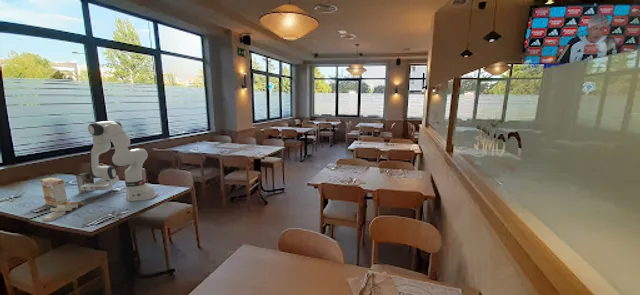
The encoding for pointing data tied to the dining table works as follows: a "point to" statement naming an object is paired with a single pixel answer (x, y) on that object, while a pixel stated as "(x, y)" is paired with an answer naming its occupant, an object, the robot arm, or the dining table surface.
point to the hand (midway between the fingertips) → (87, 190)
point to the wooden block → (73, 203)
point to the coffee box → (84, 180)
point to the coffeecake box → (54, 191)
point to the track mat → (86, 202)
